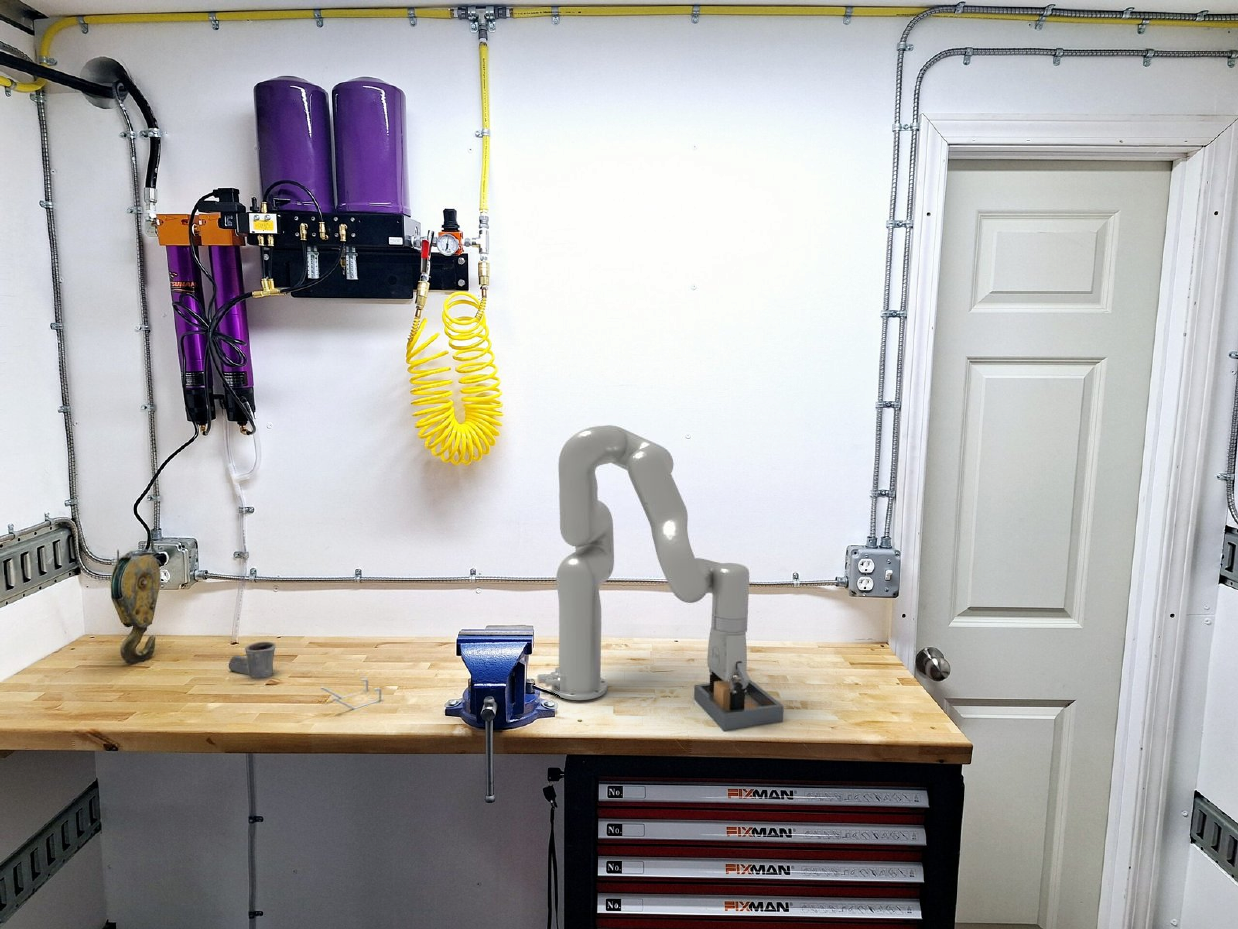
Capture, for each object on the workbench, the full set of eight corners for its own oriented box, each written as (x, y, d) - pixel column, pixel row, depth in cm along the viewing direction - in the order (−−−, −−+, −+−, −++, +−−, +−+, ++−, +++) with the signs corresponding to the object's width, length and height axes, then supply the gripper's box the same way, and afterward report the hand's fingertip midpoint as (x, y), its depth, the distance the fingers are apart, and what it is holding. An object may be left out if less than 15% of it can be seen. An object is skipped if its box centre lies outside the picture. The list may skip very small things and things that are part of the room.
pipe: (243, 668, 178) (242, 637, 177) (284, 676, 174) (283, 643, 173) (222, 677, 172) (220, 645, 171) (264, 685, 168) (263, 652, 167)
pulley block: (147, 652, 187) (142, 538, 184) (169, 653, 187) (165, 538, 184) (107, 673, 173) (101, 549, 170) (131, 674, 173) (126, 550, 170)
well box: (723, 737, 147) (724, 713, 146) (693, 706, 161) (694, 685, 160) (782, 729, 151) (783, 706, 150) (748, 700, 165) (749, 678, 165)
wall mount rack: (386, 708, 158) (386, 688, 157) (338, 722, 151) (337, 701, 150) (363, 690, 167) (363, 671, 166) (316, 703, 160) (316, 683, 159)
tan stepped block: (722, 722, 152) (723, 689, 152) (713, 713, 157) (714, 681, 156) (760, 717, 155) (761, 685, 154) (750, 708, 159) (751, 677, 159)
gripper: (696, 611, 160) (693, 686, 162) (731, 637, 144) (728, 720, 145) (727, 609, 162) (724, 683, 164) (765, 634, 146) (761, 716, 148)
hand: (726, 700), depth 155 cm, fingers open, 9 cm apart
